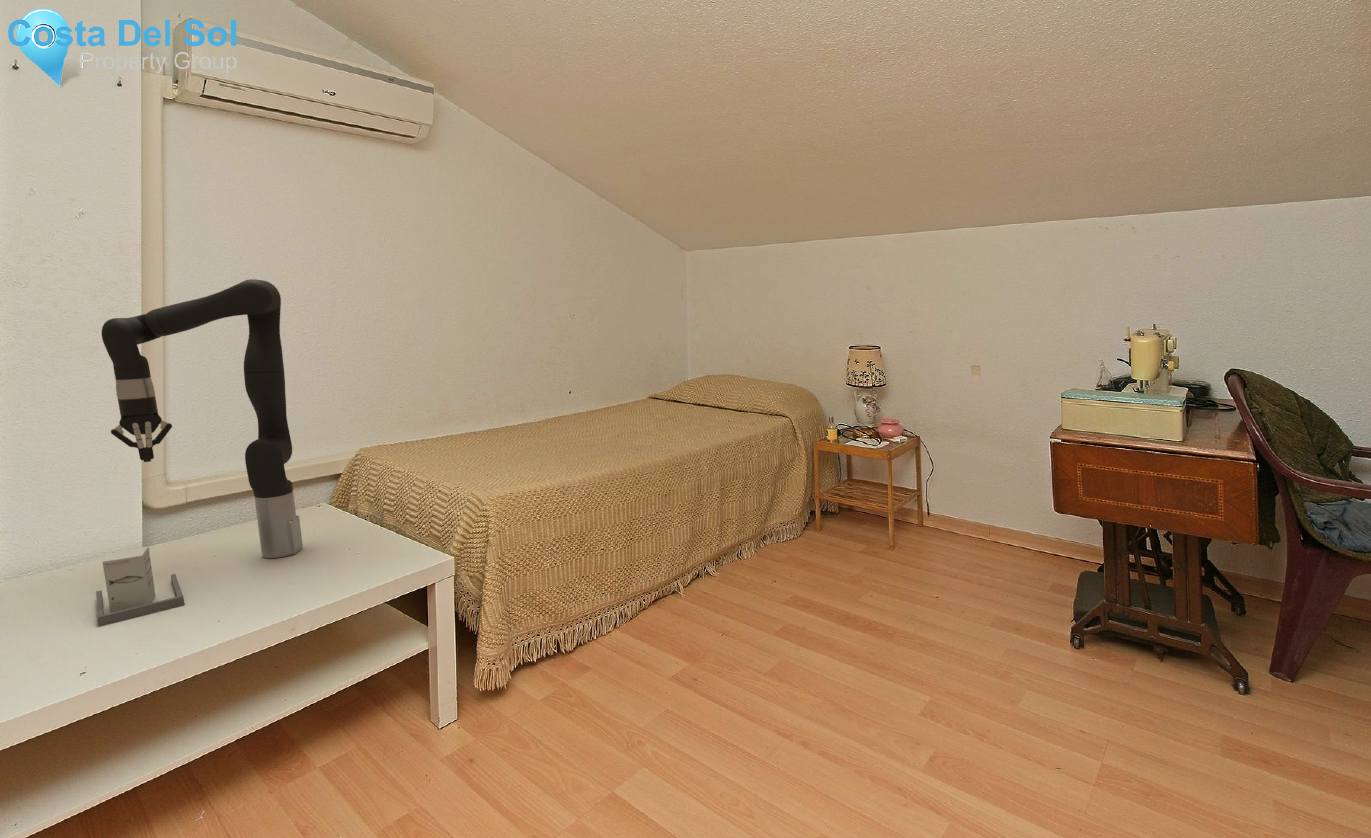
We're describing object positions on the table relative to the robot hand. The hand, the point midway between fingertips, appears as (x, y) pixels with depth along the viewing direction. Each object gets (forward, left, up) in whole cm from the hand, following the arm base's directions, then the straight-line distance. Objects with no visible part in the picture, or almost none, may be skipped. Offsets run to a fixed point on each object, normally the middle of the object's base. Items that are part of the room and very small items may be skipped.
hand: (147, 461), depth 172 cm
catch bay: (-7, +25, -29) cm, 39 cm away
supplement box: (-7, +26, -29) cm, 40 cm away
